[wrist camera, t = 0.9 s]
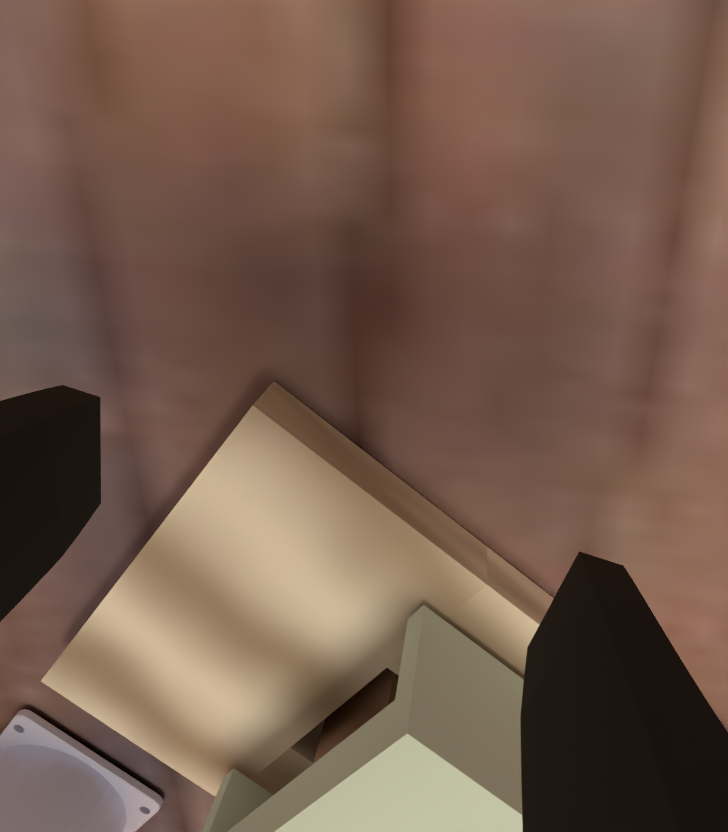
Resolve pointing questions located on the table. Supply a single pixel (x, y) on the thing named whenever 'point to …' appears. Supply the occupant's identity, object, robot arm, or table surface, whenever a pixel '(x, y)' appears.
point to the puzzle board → (281, 602)
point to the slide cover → (407, 754)
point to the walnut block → (357, 711)
